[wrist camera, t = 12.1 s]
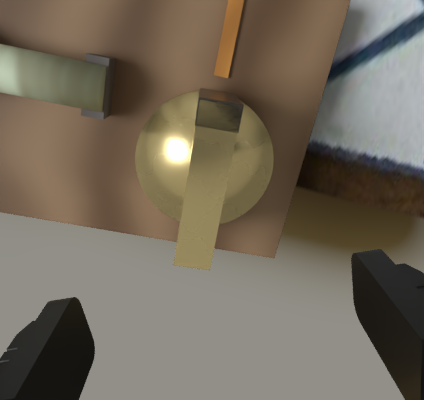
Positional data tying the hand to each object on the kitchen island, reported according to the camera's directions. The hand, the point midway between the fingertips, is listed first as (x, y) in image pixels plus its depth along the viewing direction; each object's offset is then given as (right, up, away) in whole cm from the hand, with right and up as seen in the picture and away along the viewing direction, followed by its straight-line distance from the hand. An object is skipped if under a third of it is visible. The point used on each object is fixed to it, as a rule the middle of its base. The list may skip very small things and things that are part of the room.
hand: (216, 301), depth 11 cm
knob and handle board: (-5, +9, +13) cm, 16 cm away
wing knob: (-1, +6, +12) cm, 13 cm away
